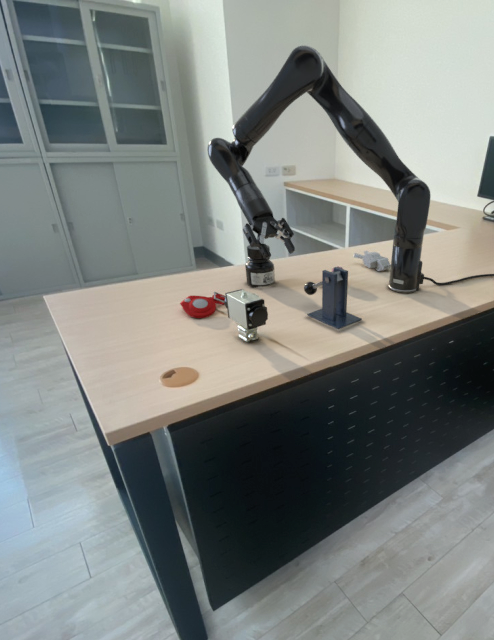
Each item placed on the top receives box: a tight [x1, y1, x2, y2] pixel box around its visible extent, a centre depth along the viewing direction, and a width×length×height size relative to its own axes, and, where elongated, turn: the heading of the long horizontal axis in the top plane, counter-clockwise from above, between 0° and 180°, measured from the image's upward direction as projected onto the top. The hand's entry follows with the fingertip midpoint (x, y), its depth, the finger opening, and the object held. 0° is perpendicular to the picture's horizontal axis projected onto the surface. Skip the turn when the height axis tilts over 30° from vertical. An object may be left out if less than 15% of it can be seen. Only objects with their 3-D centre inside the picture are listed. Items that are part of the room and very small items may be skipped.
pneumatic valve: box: [224, 288, 269, 343], centre depth 96 cm, size 6×12×12 cm, turn 46°
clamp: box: [306, 266, 363, 330], centre depth 107 cm, size 12×9×14 cm
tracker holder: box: [179, 291, 226, 319], centre depth 111 cm, size 12×4×10 cm
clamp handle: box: [303, 271, 343, 296], centre depth 108 cm, size 14×4×4 cm, turn 47°
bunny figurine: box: [352, 250, 391, 272], centre depth 152 cm, size 10×5×15 cm
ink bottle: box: [245, 244, 276, 289], centre depth 128 cm, size 10×9×12 cm
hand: (281, 254), depth 116 cm, fingers open, 8 cm apart
